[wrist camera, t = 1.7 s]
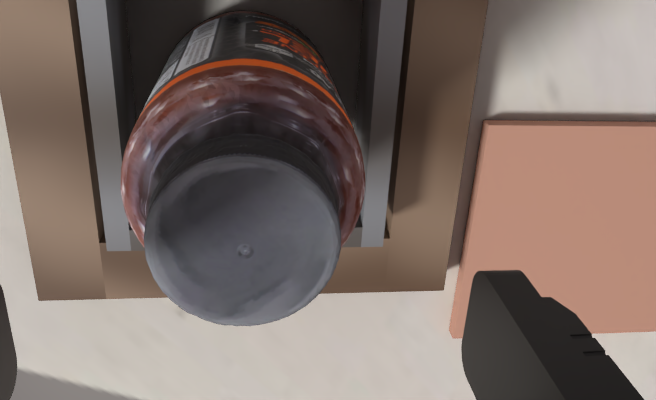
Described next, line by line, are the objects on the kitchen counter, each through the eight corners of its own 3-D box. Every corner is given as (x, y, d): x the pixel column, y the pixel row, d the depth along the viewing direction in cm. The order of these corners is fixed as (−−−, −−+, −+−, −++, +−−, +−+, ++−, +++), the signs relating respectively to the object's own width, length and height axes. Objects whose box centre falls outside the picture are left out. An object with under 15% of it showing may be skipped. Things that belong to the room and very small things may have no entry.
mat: (483, 120, 24) (488, 125, 24) (720, 122, 25) (731, 127, 25) (449, 330, 29) (452, 338, 28) (653, 323, 30) (660, 331, 29)
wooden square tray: (-34, -183, 18) (-83, -195, 15) (497, -149, 20) (535, -155, 17) (47, 283, 25) (23, 329, 22) (435, 274, 27) (456, 316, 24)
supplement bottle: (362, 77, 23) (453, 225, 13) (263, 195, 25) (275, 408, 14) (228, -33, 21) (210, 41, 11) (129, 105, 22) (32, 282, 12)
